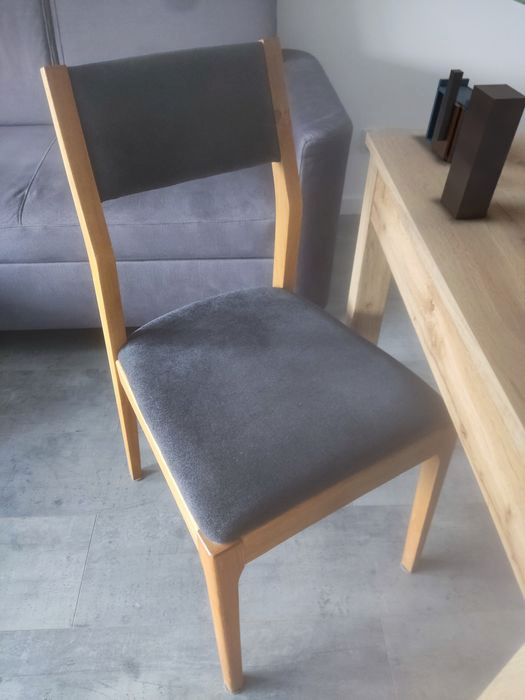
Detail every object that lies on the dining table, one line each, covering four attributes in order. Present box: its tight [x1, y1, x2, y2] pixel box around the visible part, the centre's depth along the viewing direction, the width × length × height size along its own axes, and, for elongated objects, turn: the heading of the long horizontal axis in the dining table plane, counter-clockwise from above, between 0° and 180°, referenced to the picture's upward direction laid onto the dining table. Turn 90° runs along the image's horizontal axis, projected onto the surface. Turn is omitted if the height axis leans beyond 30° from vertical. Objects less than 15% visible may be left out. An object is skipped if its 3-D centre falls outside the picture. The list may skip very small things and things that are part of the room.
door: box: [429, 68, 465, 160], centre depth 82 cm, size 2×5×13 cm, turn 10°
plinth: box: [439, 83, 525, 220], centre depth 68 cm, size 4×5×16 cm
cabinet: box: [424, 77, 473, 164], centre depth 85 cm, size 6×10×10 cm, turn 11°
